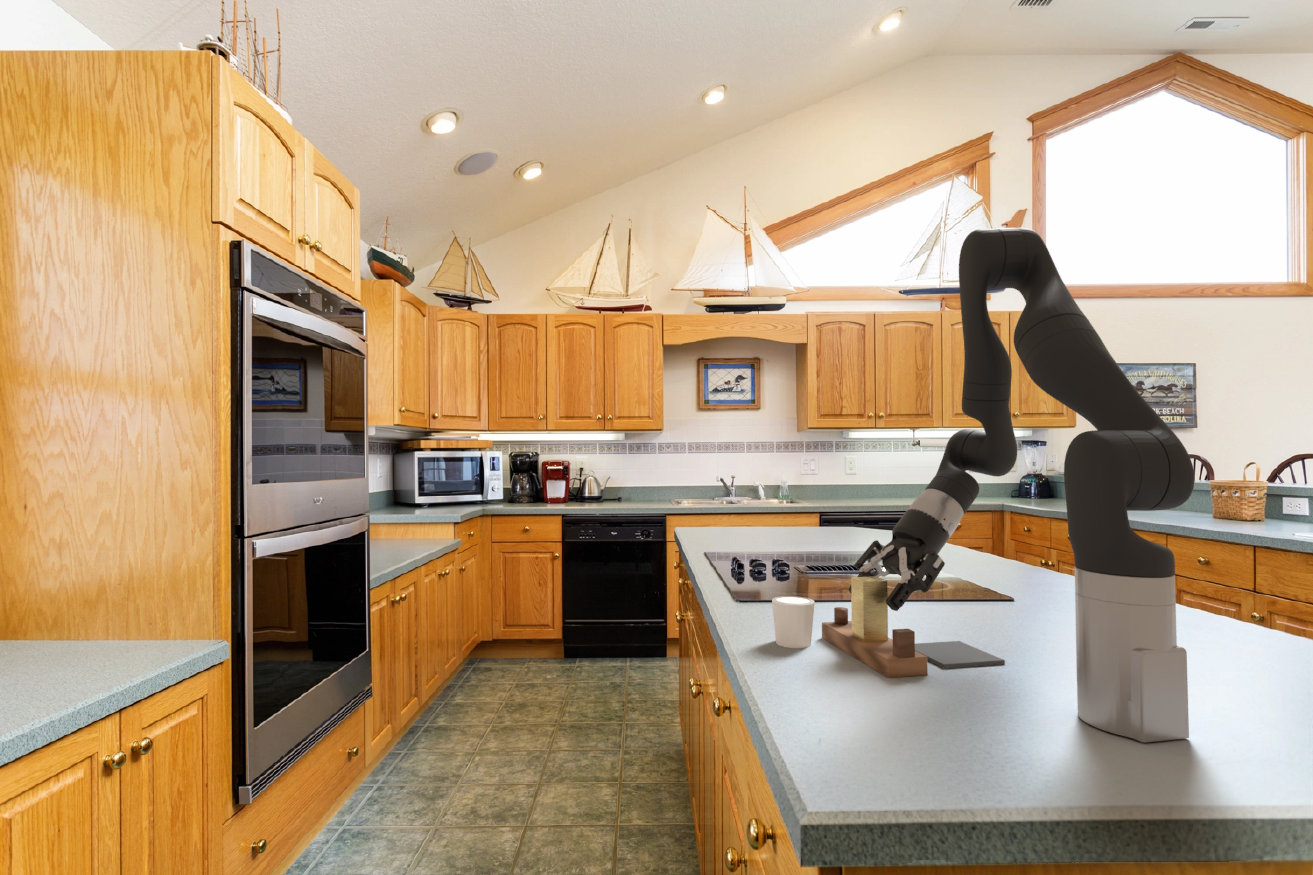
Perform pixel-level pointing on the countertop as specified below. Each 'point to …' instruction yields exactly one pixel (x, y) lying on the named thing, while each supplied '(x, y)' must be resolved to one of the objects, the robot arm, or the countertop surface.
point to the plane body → (877, 648)
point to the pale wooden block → (869, 609)
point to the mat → (956, 655)
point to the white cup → (793, 621)
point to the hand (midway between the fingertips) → (871, 600)
